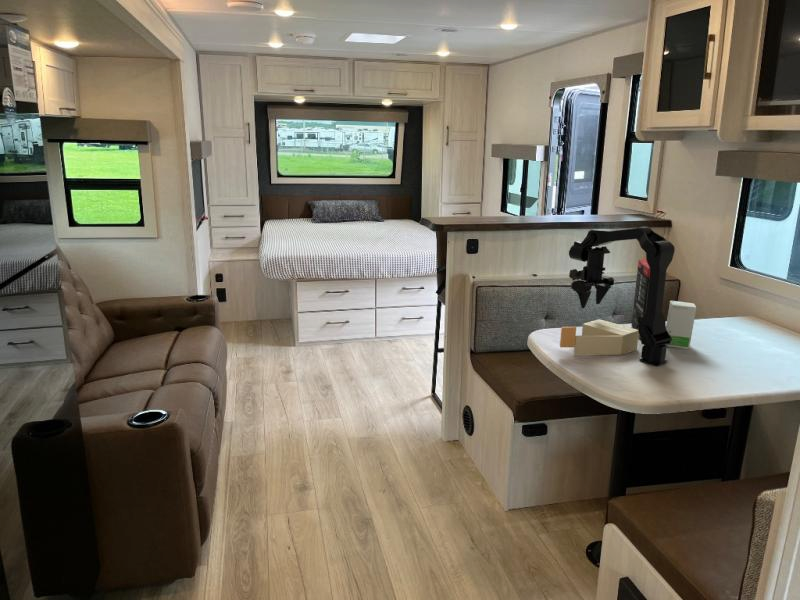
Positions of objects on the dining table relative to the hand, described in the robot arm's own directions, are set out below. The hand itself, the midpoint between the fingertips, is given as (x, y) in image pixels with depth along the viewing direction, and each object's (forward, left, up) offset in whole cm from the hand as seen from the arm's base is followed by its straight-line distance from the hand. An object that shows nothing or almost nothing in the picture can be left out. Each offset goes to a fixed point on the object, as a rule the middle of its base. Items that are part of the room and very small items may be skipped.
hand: (590, 306), depth 216 cm
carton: (-10, +2, -12) cm, 16 cm away
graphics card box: (-10, -21, -12) cm, 27 cm away
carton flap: (-12, +16, -12) cm, 23 cm away
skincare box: (-24, -19, -12) cm, 33 cm away
